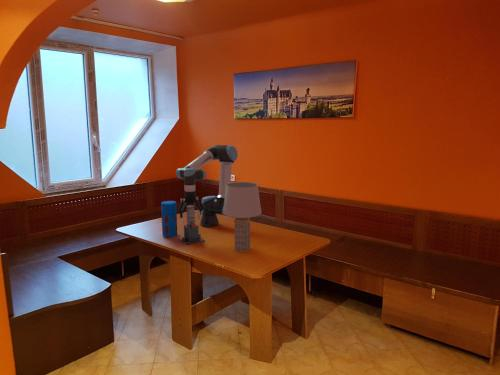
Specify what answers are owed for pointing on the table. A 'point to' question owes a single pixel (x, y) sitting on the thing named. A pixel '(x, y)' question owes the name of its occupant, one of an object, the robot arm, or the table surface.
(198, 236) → the stand base
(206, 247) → the table surface
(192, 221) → the column
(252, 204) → the lamp
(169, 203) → the thermos
